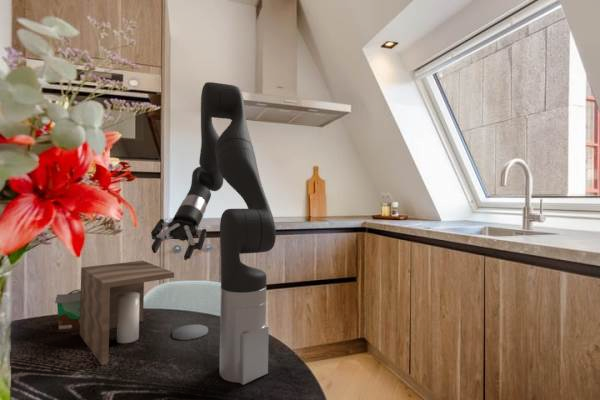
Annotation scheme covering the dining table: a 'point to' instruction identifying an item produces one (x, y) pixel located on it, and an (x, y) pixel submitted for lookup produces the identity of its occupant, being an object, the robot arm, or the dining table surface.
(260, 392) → the dining table surface
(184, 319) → the dining table surface
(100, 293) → the walnut cubby
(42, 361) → the dining table surface
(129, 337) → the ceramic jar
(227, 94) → the robot arm
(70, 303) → the food container
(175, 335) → the grey coaster
